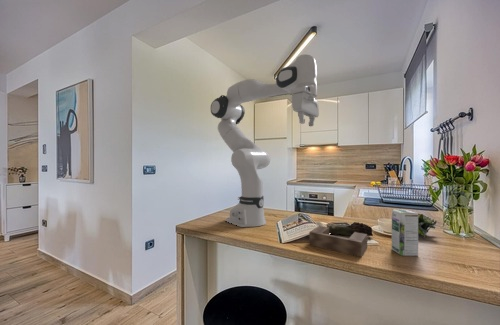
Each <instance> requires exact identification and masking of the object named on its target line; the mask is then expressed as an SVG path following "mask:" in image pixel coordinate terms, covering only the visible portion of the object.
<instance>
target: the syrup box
mask: <svg viewBox="0 0 500 325" xmlns="http://www.w3.org/2000/svg"><path fill="white" fill-rule="evenodd" d="M418 213H419V212H414V211H411V210H408V209H403V208H401V209H400V208H395V209H391V250H392V251H394V252H396V253H397V254H398V255H400V257H401V256H403V257H405V256H406V257H415V256H416V257H418V256H419V233H418Z"/></svg>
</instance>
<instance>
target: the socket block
mask: <svg viewBox="0 0 500 325" xmlns="http://www.w3.org/2000/svg"><path fill="white" fill-rule="evenodd" d="M308 234H309V239H308V240H309V243H308V244H309V246H311V247H312V246H313V247H315V248H321V249H325V250H328V251H332V252H333V251H334V252H336V253H337V252H338V253H342V254H346V255H350V256H354V257H357V258H362V257H363V256H364V254H365V252H366V251H367V249H368V236H367V234H363V233H357V232H354V233H353V234H352V235H350V236H349V237H344V236H340V235H329V227H327V226H322V225H318V226H317V227H315V228H313V229H312V230H310V231H309V232H308Z"/></svg>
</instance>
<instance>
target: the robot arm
mask: <svg viewBox="0 0 500 325" xmlns="http://www.w3.org/2000/svg"><path fill="white" fill-rule="evenodd" d="M317 77H318V71H317V62H316V59H315V57H314V56H312V55H310V54H301V55H299V56H297V57H296V59H295V60H294V61H293V62H292V63H291V64H289V65H287V66H285V67H283V68H281V69H280V70H279V71H278V73H277V74H276V76H275V83H267V82H263V81H260V80H258V79H254V78H253V79H245V80H241V81H239V82H236V83H234V84H231V86H229V87H228V88H227V91H226V95H223V94H221V95H220V96H219V97H217V98H215V99H214V100H213V101H212V102H211V104H210V113H211V115H212V116H213V117H215V118H217V119H220V120H221V121H220V122H218V125H217V131H218V133H219V136H220V137H221V139H222V140H223V141H224V143H225V144H226V145H227V146H228V148H229V149H230V150H231V151H232V155H231V158H230V161H231V165H232V166H233V167H234V168H235V169H236V171H237V173H238V175H239V179H240V183H241V184H240V185H241V196H238V197H237V200H239V202H238V203H237V204H236V205H235V206H233V207H232V208H231V209H230V210H229V217H227V218H225V220H224V222H225V221H227V222H226V223H228V222H229V223H228V224H231V223H232V224H231V225H234V226H236V225H237V227H239V228H247V227H249V228H250V227H251V228H252V227H253V228H254V227H260V226H264V225H266V224H267V221H266V218H265V217H266V216H265V211H264V204H265V203H264V195H263V192H264V191H263V190H264V189H263V184H264V183H263V180H262V178H260V176H259V173H258V170H262V169H264V168H267V167H268V166H269V164H270V162H271V155H270V154H269V153H268V152H267V151H266V150H264V149H262V148H261V147H260V146H259V145H257V144H256V143H255V142H253V141H252V139H249V138H248V137H247V135H246V134H245V133H244V132H243V131H242V130H241V129H240V127H238V126H237V125H239V124H240V123H241V121H242V120H243V118H244V117H245V112H246V110H245V107H244V106H243V105H242V104H244V103H249V102H252V101H256V100H261V99H265V98H266V99H267V98H273V97H280V96H286V95H291V108H292V110H293V111H294V112H296V113H297V116H298V120H299V124H302V125H303V124H305V123H306V119H305V117H308V119H309V120H308V121H309V122H308V126H309V127H310V128H311V127H314V125H315V124H314V122H315V120H316V118H318V117H319V114H320V110H319V109H320V108H319V103H318V100H316V98H317V96H318V85H317V84H318V83H317ZM304 116H305V117H304Z"/></svg>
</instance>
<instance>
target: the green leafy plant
mask: <svg viewBox="0 0 500 325" xmlns="http://www.w3.org/2000/svg"><path fill="white" fill-rule="evenodd" d="M417 213H418V234H419V235H422V237H423V238H422V239H423V240H425V237H426V235H427V233H429V231H430V229H434V230H435V229H436V226H435V225H437V220H435V219H433V218H432V219H431V217H430V216H426V215H425V214H424V213H419V212H417Z"/></svg>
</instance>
